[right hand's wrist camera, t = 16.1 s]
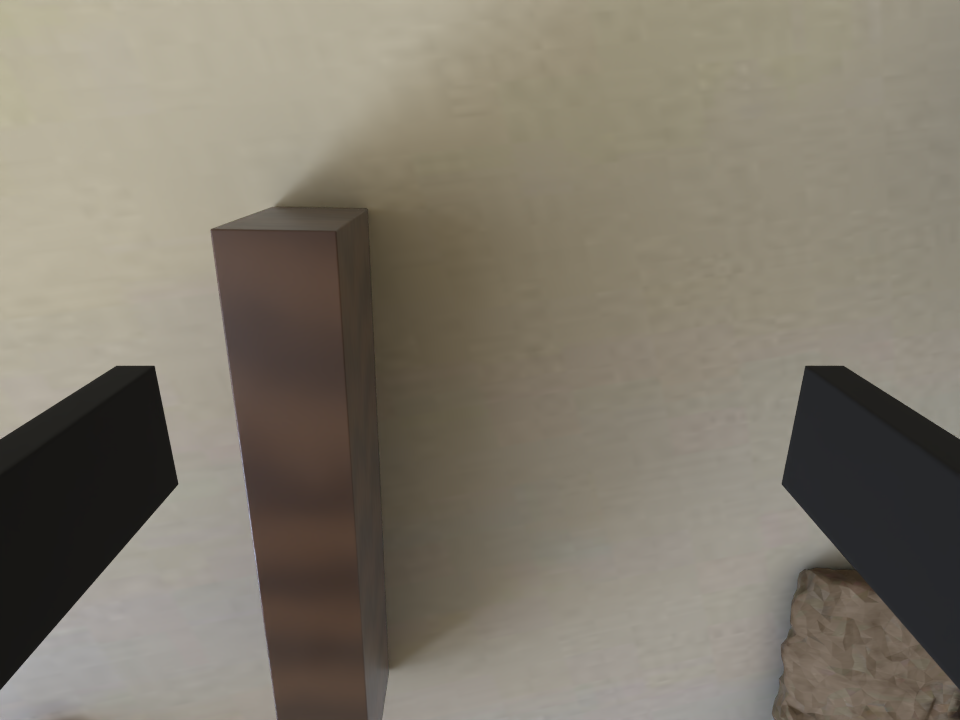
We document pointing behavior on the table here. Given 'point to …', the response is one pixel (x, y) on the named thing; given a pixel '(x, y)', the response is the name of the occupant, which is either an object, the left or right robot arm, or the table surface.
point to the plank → (310, 450)
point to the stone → (855, 658)
